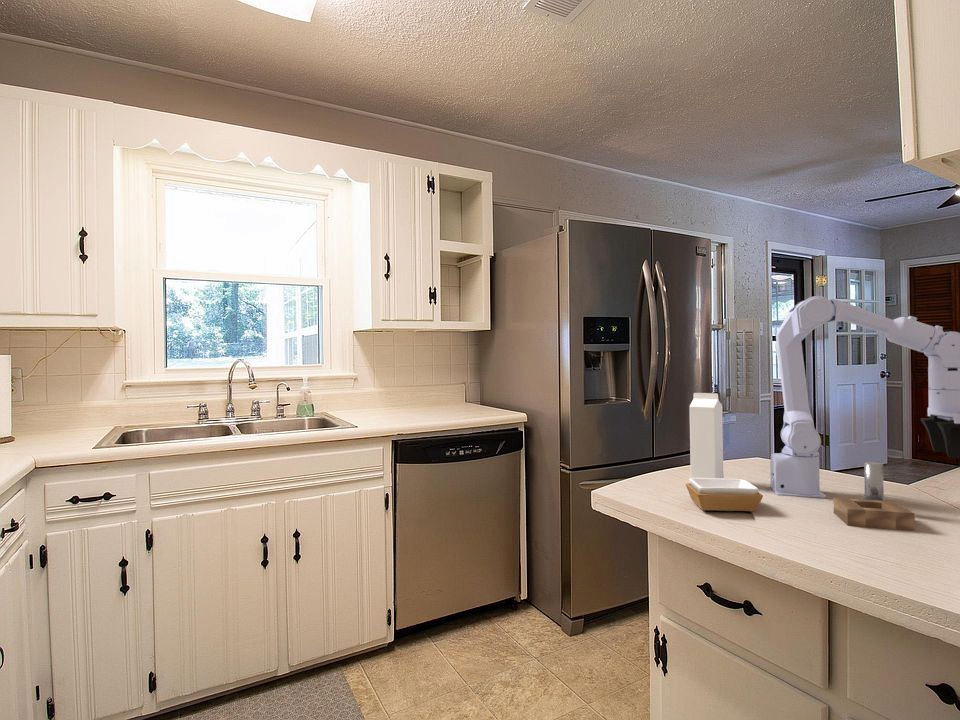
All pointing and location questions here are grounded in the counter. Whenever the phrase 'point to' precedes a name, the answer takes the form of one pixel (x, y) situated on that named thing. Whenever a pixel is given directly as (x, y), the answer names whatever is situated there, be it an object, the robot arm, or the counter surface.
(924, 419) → the robot arm
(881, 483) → the peg
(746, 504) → the soap dish
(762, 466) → the counter surface
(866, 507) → the block
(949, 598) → the counter surface
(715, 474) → the milk
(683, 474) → the counter surface
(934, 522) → the counter surface
